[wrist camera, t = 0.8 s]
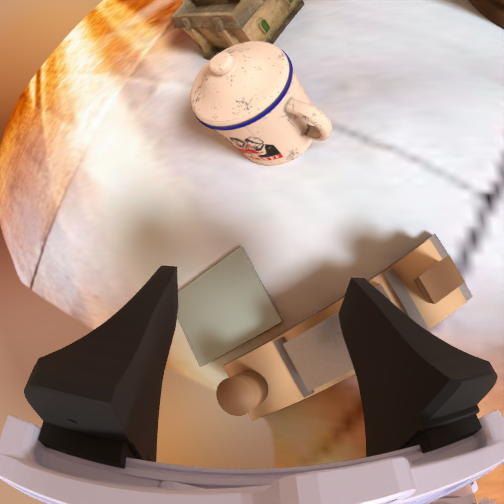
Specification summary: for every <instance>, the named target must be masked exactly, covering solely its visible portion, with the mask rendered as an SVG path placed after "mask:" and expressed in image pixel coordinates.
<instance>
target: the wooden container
mask: <svg viewBox="0 0 504 504" xmlns="http://www.w3.org/2000/svg"><path fill="white" fill-rule="evenodd" d="M469 1H470V2H471V3H472V4H473V5H474V6H475V7H476V8H477V9H478V10H479V11H480V12H481V13H482V14H484V15H485V16H486V17H487V18H489V19H490V20H492V21H493V22H495V23H496V24H498V25H499V26H501V27H503V28H504V0H469Z"/></svg>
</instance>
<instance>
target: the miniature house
mask: <svg viewBox="0 0 504 504" xmlns="http://www.w3.org/2000/svg"><path fill="white" fill-rule="evenodd" d="M303 5H304V2H303V0H183V3H182V5H181V6H180V7H179V8H178V9H177V10H176V12H175V13H174V14H173V15H172V16H171V18H172V19H173V20H174V22H175V26H174V28H182V29H183V30H184V31H185V32H186V33H187V34H188V35H189V36H190V37H191V38H192V39H193V40H194V41H195V42H196V43H197V44H198V45H199V47H200V48H201V49H202V50H203V52H204V54H205V58H206V59H207V60H211V59H212V58H213V57H214V56H215V54H216V53H217V52H218V51H219V52H222V51H223V50H225V49H227V48H229V47H231V46H233V45H236V44H239V43H243V42H249V41H262V42H267V43H270V44H273V43H274V42H275V41H276V39H277V38H278V37H279V35H280V34H281V33H282V31H283V30H284V29H285V28H286V26H287V25H288V24H289V23H290V21H291V20H292V19H293V18H294V16H295V15H296V14H297V13H298V11H299V10H300V9H301V8H302V7H303Z"/></svg>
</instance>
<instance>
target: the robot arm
mask: <svg viewBox="0 0 504 504" xmlns="http://www.w3.org/2000/svg"><path fill="white" fill-rule="evenodd" d="M177 313H178V285H177V267H174V266H161V267H160V268H159V269H158V270H157V271H156V272H155V274H154V275H153V276H152V277H151V278H150V279H149V280H148V282H147V283H146V284H145V285H144V286H143V287H142V288H141V289H140V290H139V291H138V292H137V294H136V295H135V296H134V297H133V298H132V299H131V300H130V301H129V302H128V303H126V304H125V305H124V306H123V307H122V308H121V309H120V310H119V311H118V312H117V313H116V314H114V315H113V316H112V317H111V318H110V319H108V320H107V321H106V322H105V323H103V324H102V325H101V326H99V327H98V328H96V329H95V330H93V331H92V332H90V333H89V334H87V335H86V336H84V337H82V338H81V339H79V340H77V341H75V342H73V343H72V344H70V345H68V346H66V347H64V348H62V349H60V350H58V351H55V352H53V353H51V354H48V355H46V356H44V357H41V358H39V359H38V361H37V363H36V365H35V366H34V368H33V370H32V373H31V375H30V377H29V380H28V382H27V384H26V387H25V389H24V394H25V397H26V399H27V401H28V402H29V404H30V405H31V406H32V407H33V409H34V410H35V411H36V412H37V413H38V415H39V416H40V417H41V418H42V419H43V421H44V422H43V425H42V428H40V427H38V426H37V425H35V424H33V423H30V422H28V421H25V420H23V419H20V418H18V417H15V416H13V415H8V417H7V420H6V423H5V425H4V428H3V431H2V434H1V437H0V479H1V480H3V481H5V482H6V483H8V484H9V485H11V486H13V487H14V488H16V489H18V490H19V491H21V492H23V493H25V494H26V495H29V496H31V497H33V498H35V499H38V500H40V501H42V502H45V503H47V504H477V502H476V499H475V496H474V494H473V493H474V492H476V491H477V489H478V486H477V483H476V480H477V479H479V478H481V477H483V476H484V475H486V474H487V473H489V472H490V471H492V470H493V469H495V468H496V467H498V466H499V465H501V464H502V463H503V462H504V419H503V417H502V415H501V413H500V411H499V410H496V411H493V412H491V413H489V414H486V415H484V416H482V417H481V418H479V419H478V417H477V415H476V414H477V413H478V412H479V408H478V406H477V404H478V403H479V402H480V401H481V400H482V399H483V398H484V397H485V396H486V395H487V393H488V392H489V391H490V390H491V389H492V388H493V386H494V385H495V383H496V380H497V374H496V372H495V371H494V369H493V367H492V366H491V364H490V362H488V361H486V360H483V359H480V358H478V357H475V356H472V355H470V354H468V353H466V352H463V351H461V350H459V349H457V348H455V347H453V346H451V345H449V344H448V343H446V342H444V341H443V340H441V339H439V338H438V337H436V336H434V335H433V334H431V333H430V332H428V331H427V330H426V329H424V328H423V327H421V326H420V325H419V324H417V323H416V322H415V321H413V320H412V319H411V318H410V317H408V316H407V315H406V314H405V313H404V312H402V311H401V310H400V309H399V308H398V307H397V306H395V305H394V304H393V303H392V302H391V301H390V300H389V299H388V298H386V297H385V296H384V295H383V294H382V293H381V292H380V291H379V290H378V289H376V288H375V287H374V286H373V285H372V284H371V283H369V282H368V281H367V280H366V279H364V278H351V280H350V283H349V286H348V288H347V291H346V294H345V297H344V300H343V302H342V305H341V308H340V310H339V313H338V315H339V320H340V326H341V330H342V335H343V338H344V341H345V344H346V347H347V349H348V352H349V355H350V358H351V361H352V364H353V367H354V370H355V373H356V376H357V380H358V384H359V389H360V394H361V400H362V406H363V413H364V421H365V433H366V456H367V457H365V458H360V459H354V460H348V461H342V462H335V463H327V464H319V465H310V466H299V467H285V468H265V469H264V468H261V469H232V468H231V469H230V468H208V467H207V468H206V467H194V466H183V465H173V464H165V463H158V462H156V451H157V431H158V417H159V406H160V396H161V387H162V380H163V375H164V370H165V366H166V362H167V358H168V354H169V350H170V346H171V343H172V339H173V335H174V331H175V327H176V320H177ZM478 502H479V504H497V503H496V501H495V500H493V499H489V500H488V498H487V497H485V498H483V499H482V500H480V501H478Z"/></svg>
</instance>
